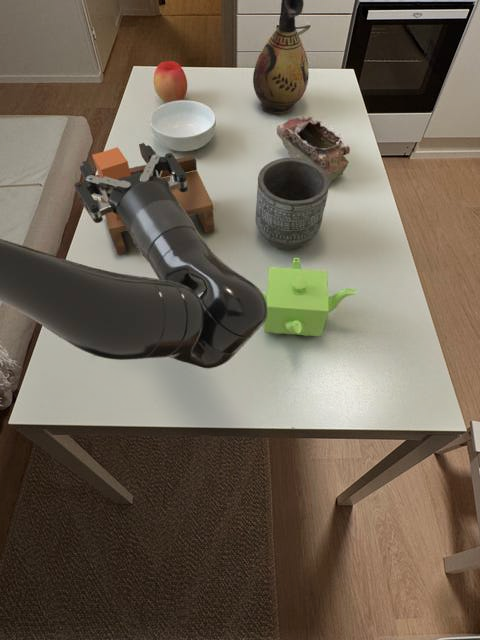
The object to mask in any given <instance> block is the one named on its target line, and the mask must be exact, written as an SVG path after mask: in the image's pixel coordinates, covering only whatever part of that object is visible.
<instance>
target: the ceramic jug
mask: <svg viewBox="0 0 480 640" xmlns="http://www.w3.org/2000/svg"><path fill="white" fill-rule="evenodd" d="M304 4H305V3H304V0H281V4H280V6H281V7H280V13H279V19H278V27H277V29H276V30H274V32H273V33H272V36H270V37H269V39H268V40H267V42H266V43H265V45H264V46H263V48H262V49H261V51H260V53H259V55H258V56H257V60H256V63H255V66H254V70H253V76H252V84H253V85H252V86H253V89H254V90H253V91H254V93H255V95H256V97H257V99H258V100H259V102H260V106H261V110H262V111H263V112H264V113H268V114H269V115H272V116H280V115H286V114H288V113H290V112H291V110H292V108H293V107H294V106H295V105H296V104H297V103H298V102H299V101H300V100H301V99H302V98H303V96H304V95H305V92H306V91H307V87H308V83H309V76H310V75H309V63H308V57H307V52H306V50H305V47H304V45H303V42H302V39H301V37H300V36H299V33H298V31H297V27H296V17H299V16H300V15H301V14H302V13H303V8H304Z"/></svg>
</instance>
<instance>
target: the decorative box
mask: <svg viewBox="0 0 480 640" xmlns="http://www.w3.org/2000/svg"><path fill="white" fill-rule="evenodd" d="M276 135H277V136H278V137H279V139H280V140H281V142H282V145H283V147H284V148H285V149H286V150H287V153H288V156H289V158H300V159H305V160H308V161H311V162H313V163H315V164H317V165H319V166H320V167H322V168H323V169H324V170H325V171H326V173H327V174H328V177H329V180H330V183H331V182H332V181H334V179H337V178H339V177H341V176H342V175H343V174H344V172H345V170H346V168H347V167H348V165H349V163H350V161H349V160H348V159H347V158H346V156H347V155H348V154H350V152H351V147H350V146H349V145H348V144H347V143H344V142H343V141H342V138H343V137H342V135H341V133H340V132H339V131H338V130H336V129H335V128H334V127H333V126H331V125H330V124H327V123H325V122H323V121H321V120H316V119H314V117H312V116H309V117H307V118H305V117H303V116H301V115H299V116H297V117H295V118H292V119H290V118H289V119H288V120H287V121H285V122H284V123H282V124H279V125H277V127H276Z"/></svg>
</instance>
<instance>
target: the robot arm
mask: <svg viewBox="0 0 480 640" xmlns="http://www.w3.org/2000/svg"><path fill="white" fill-rule="evenodd" d="M138 147H139V151H140V152H139V153H140V155H141V158H142V159H143V161H144V162H145V163H146V164H145V165H146V166H145V169H144V171H143V173H140V172H137V173H134V174H132V175H131V176H128V177H122V178H119V179H118V180H116V179H113V178H109V177H106V176H105V177H104V178H100V177H97V176H96V175H97V174H96V173H95V172H94V169H93V168H92V166H91V164H90V163H89V161H88V160H84V161H81V163H82V165H80V166H79V169H80V173H81V176H82V178H83V180H84V181H83V182H82V181H77V182H76V183H74V188H75V190H76V192H77V196H78V199H79V201H80V203H81V204H82V206H83V207H84V209H85V210H86V212H87V213H88V215H89V217H90V218H91V219H92V221H93V222H94V223H95V224H99V223H102V222H103V220H104V218H103V216H105V215H106V214H108V213H111V212H113V213H115V214H117V215H118V216H119V217H120V219H121V220H122V222H123V224H124V225H125V227H126V229H127V232H128V234H129V235H130V238H131V239H132V241H133V244H134V246H135V247H136V249H137V250H138V251H139V252H140V253H141V254H140V255H142V257H144V259H145V260H146V261H147V262H148V264H149V265H150V267H151V268H152V271H153V272H154V273H155V275H156V277H157V278H153V277H147V276H138V275H134V274H133V275H131V274H125V273H118V272H114V271H108V270H105V269H100V268H97V267H92V266H88V265H85V264H81V263H78V262H74V261H72V260H68V259H66V258H62V257H59V256H56V255H53V254H50V253H46V252H43V251H41V250H37V249H34V248H31V247H29V246H25V245H22V244H19V243H15V242H13V241H10V240H6V239H2V238H0V302H1V303H3V304H4V305H7V306H8V307H11V308H12V309H14V310H16V311H18V312H20V313H22V314H23V315H24V316H27V317H28V318H30V319H31V320H33V321H34V322H36V323H38V324H39V325H41V326H42V327H44V328H45V329H47V330H48V331H50V332H51V333H53V334H54V335H56V336H57V337H58V338H60V339H62V340H64V341H65V342H67V343H68V344H70V345H72V346H73V347H75V348H77V349H79V350H81V351H83V352H85V353H88V354H90V355H93V356H95V357H98V358H102V359H106V360H107V359H108V360H116V361H134V360H146V359H148V360H149V359H164V358H169V359H172V360H175V361H178V362H180V363H186V364H188V365H191V366H195V367H197V368H201V369H207V370H209V369H215V368H218V367H221V366H223V365H224V364H226V363H228V362H229V361H230V360H231V359H233V358H234V357H235V355H236V354H238V352H239V351H240V350H241V349H242V348H243V347H244V346H245V345H246V344H247V342H248V341H250V339H251V338H252V337H253V336H254V335H255V334H256V333H257V332H258V331H259V330H261V328H262V327H263V326H264V325H265V321H266V318H267V314H268V307H267V302H266V299H265V297H264V295H263V294H264V293H263V292H262V290H261V289H260V287H258V286H257V285H256V284H254V283H253V282H251V281H250V280H249V279H247V278H246V277H244V276H243V275H241V274H240V273H238V272H236V271H235V270H234V269H232V268H231V267H230V266H229V265H227V264H226V263H225V262H224V261H223V260H222V259H220V258H219V257H218V256H217V255H216V254H215V253H214V252H213V251H212V250H211V249H210V247H209V246H208V244H207V243H206V241H205V239H204V238H203V237H202V236H201V234H200V233H199V231H198V230H197V227H196V226H195V223H194V222H193V220H192V218H191V217H190V216H188V214H187V213H186V212H185V210H184V209H183V207H182V206H181V205H180V203H179V202H178V200H177V199H176V198H175V196H174V195H173V194H172V192H171V191H173V190H176V189H179V191H180V192H186V191H187V190H188V187H187V178H186V173H187V172H186V173H185V172H184V170H183V169H182V167H181V166H180V164H179V163H178V161H177V160H176V158H177V157H175V155H174V153H171V152H168V153H165V154H164V156H160V154H158V153H156V151H155V150H154V149H153V148H152V146H151V145H149V144H147V145H146V144H145V143H144V142H141V143H139V144H138ZM164 170H167V171H168V173H169V175H170V181H168V182H167V181H166V180H165V179H162V178H160V176H161V174H162V171H164ZM99 187H100V188H99ZM112 188H113V189H112ZM94 196H95V197H94ZM97 197H98V198H97ZM100 197H101V198H103V199H104V200H105V201H106V202H108V203H103V202H102V201H101V200H99V198H100ZM101 198H100V199H101ZM199 295H200V296H199Z"/></svg>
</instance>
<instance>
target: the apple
mask: <svg viewBox="0 0 480 640" xmlns="http://www.w3.org/2000/svg"><path fill="white" fill-rule="evenodd" d="M153 87H154V91H155V93H156V95H157V96H158V97H159V98H160V100H161V101H162V102H164V103H168V102H173V101H179V100H184V98H185V97H186V95H187V91H188V79H187V76H186V73H185V71H184V69H183V67H182V65H180V64H179V63H178V62H176V61H173V60H168V61H162V62H160V63H159V64H158V65H157V67H156V68H155V71H154V73H153Z"/></svg>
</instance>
